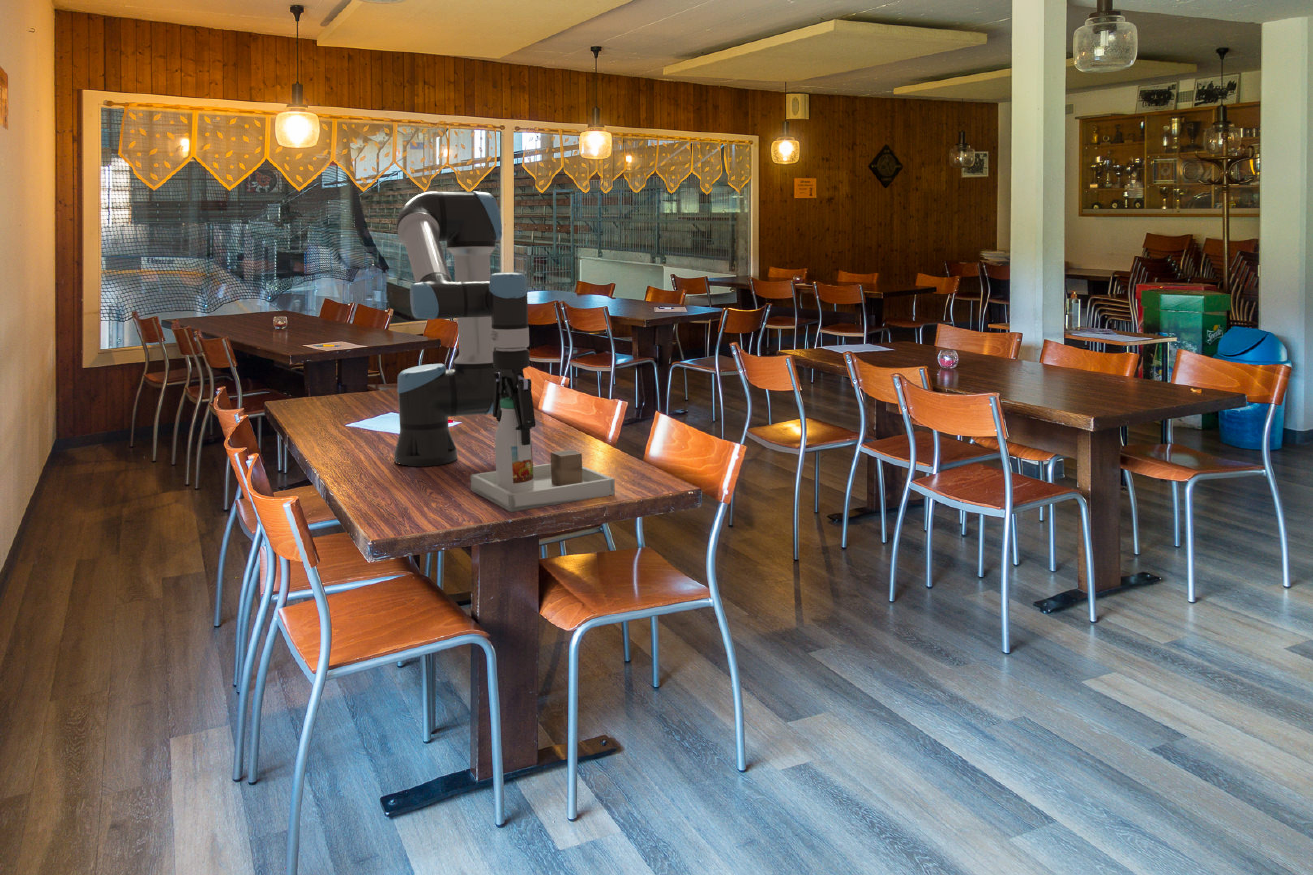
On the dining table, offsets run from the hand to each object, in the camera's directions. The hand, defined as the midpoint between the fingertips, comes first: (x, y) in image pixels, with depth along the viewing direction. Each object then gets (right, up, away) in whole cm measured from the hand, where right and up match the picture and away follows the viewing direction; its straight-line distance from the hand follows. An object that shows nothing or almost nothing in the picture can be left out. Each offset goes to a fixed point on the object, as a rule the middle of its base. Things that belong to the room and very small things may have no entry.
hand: (514, 455), depth 211 cm
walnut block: (+10, -6, +8) cm, 14 cm away
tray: (+5, -8, +5) cm, 11 cm away
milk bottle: (0, -8, +2) cm, 8 cm away
